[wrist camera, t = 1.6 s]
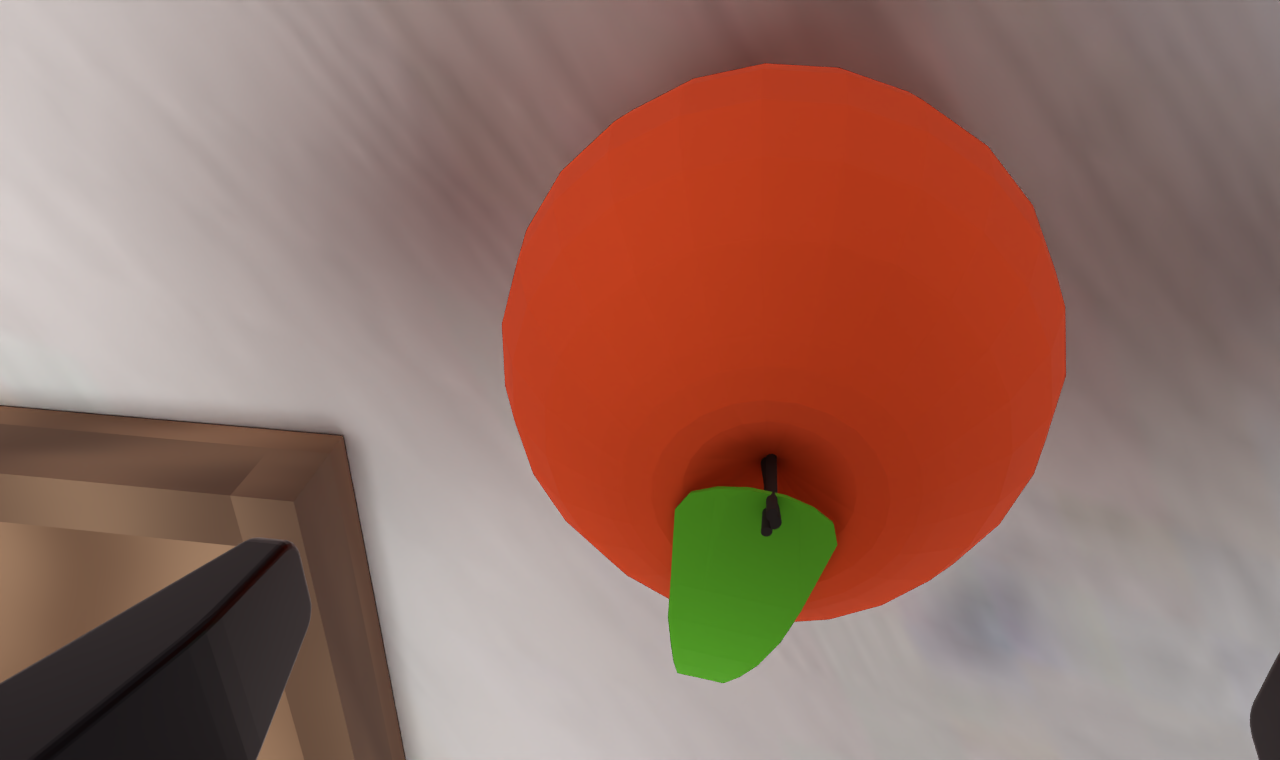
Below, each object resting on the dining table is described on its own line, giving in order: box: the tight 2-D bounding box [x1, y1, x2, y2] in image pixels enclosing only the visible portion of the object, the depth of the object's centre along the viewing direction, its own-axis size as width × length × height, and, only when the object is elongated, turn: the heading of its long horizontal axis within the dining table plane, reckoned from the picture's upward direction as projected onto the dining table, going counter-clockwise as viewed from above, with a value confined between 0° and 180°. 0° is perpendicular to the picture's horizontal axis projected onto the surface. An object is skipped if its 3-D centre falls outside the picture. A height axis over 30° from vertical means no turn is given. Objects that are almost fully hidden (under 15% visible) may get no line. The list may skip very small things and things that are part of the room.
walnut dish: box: [0, 406, 405, 760], centre depth 21 cm, size 14×14×2 cm
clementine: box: [502, 63, 1066, 683], centre depth 12 cm, size 8×7×7 cm
